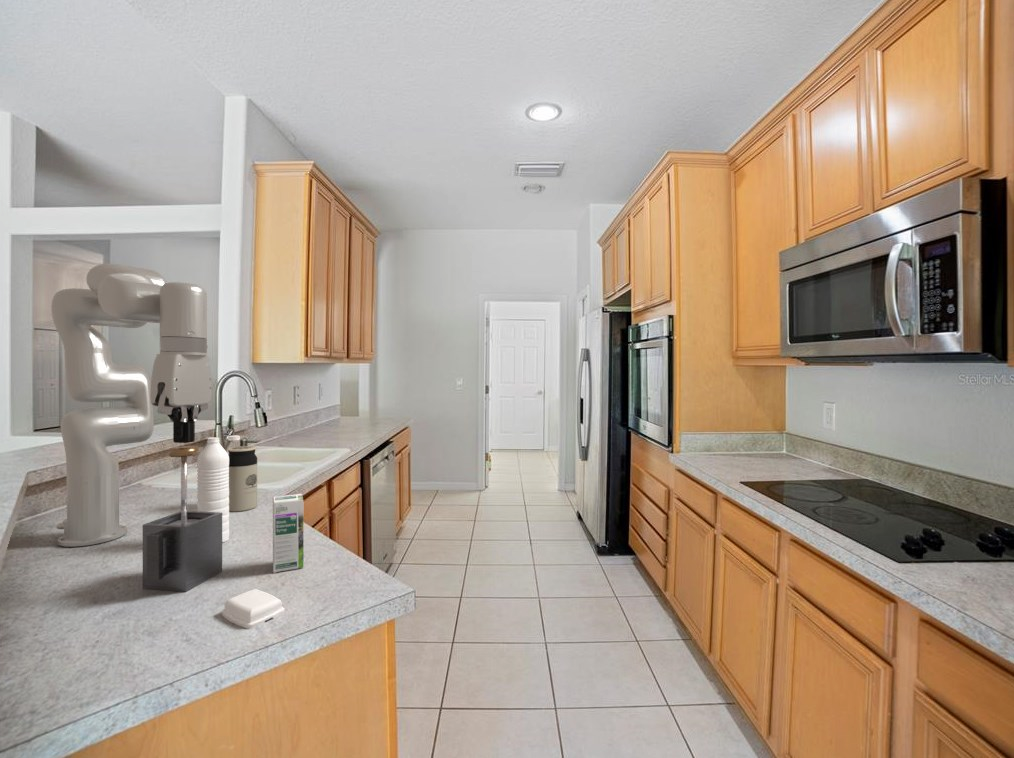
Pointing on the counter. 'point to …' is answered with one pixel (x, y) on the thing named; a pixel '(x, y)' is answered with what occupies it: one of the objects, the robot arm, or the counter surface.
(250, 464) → the travel mug
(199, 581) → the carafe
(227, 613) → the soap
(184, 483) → the plunger
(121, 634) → the counter surface
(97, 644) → the counter surface
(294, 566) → the syrup box
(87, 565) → the counter surface
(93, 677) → the counter surface
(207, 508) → the water bottle
